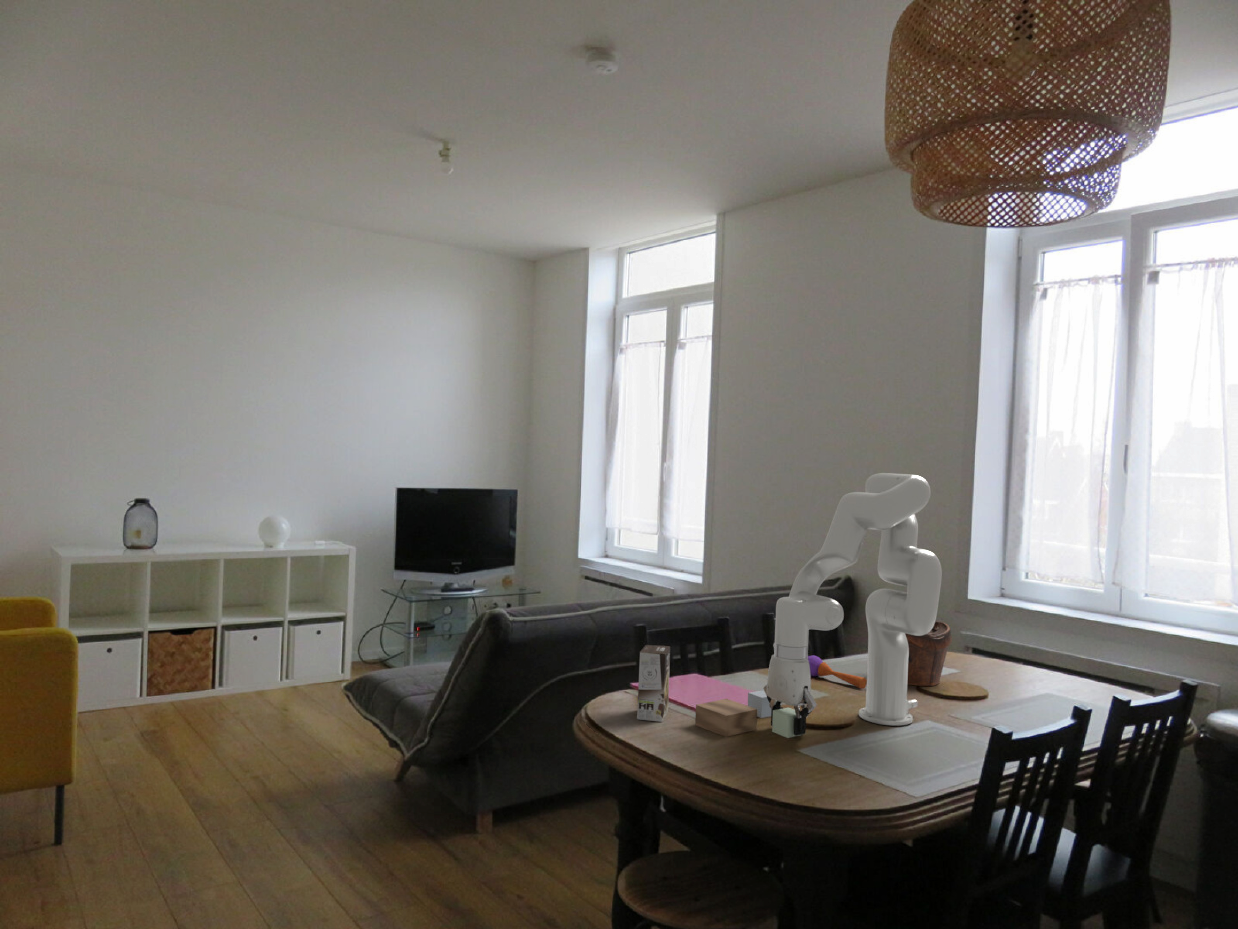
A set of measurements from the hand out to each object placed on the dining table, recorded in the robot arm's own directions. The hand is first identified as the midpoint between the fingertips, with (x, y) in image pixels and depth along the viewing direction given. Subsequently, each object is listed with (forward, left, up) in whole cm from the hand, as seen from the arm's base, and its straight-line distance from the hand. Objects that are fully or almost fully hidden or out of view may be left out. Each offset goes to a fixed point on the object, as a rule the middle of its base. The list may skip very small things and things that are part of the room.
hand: (787, 729), depth 203 cm
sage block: (0, 0, -1) cm, 1 cm away
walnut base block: (+10, -10, -1) cm, 14 cm away
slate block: (-5, -14, -1) cm, 15 cm away
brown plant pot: (-69, -18, -1) cm, 71 cm away
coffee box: (+20, -25, -1) cm, 32 cm away
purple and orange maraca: (-46, -29, -1) cm, 54 cm away
